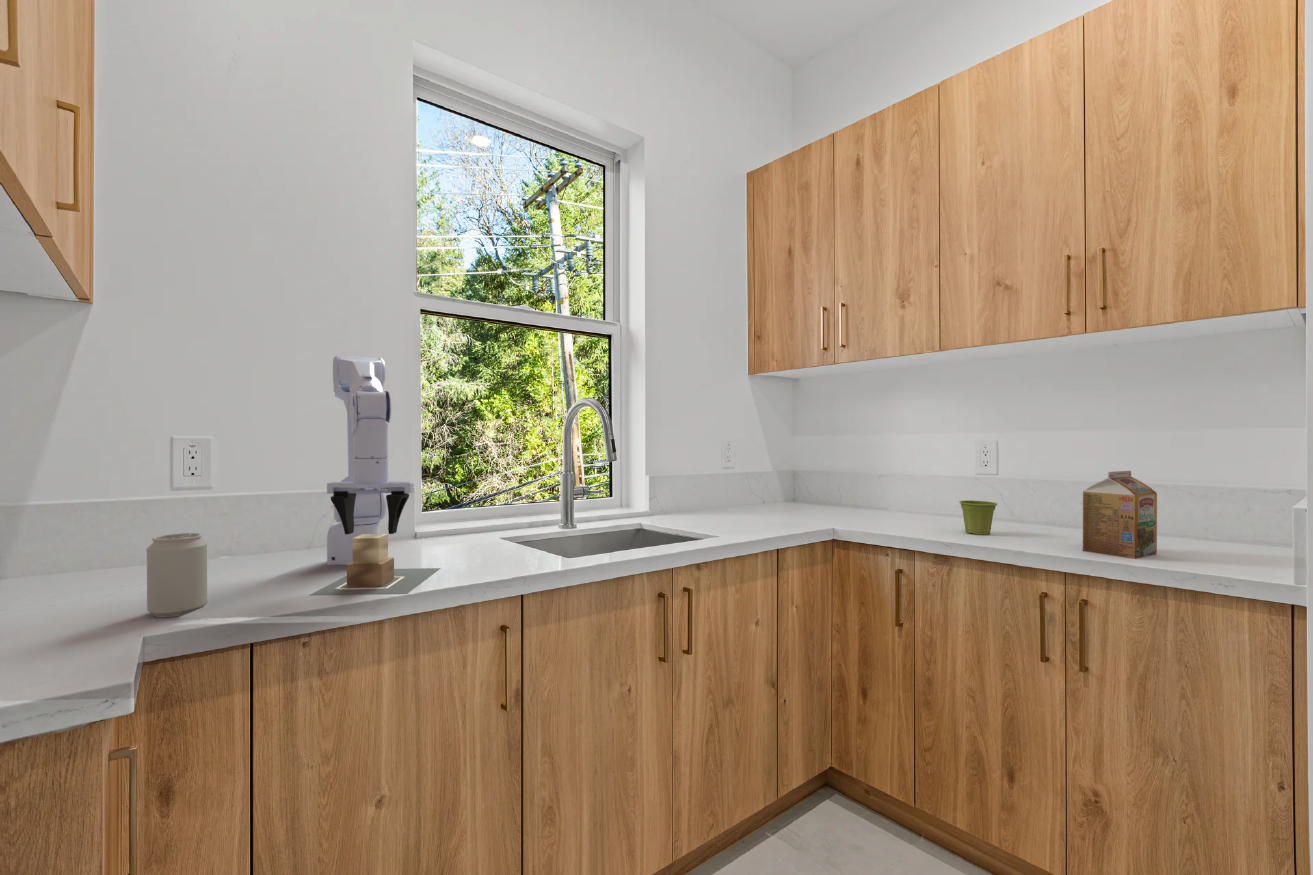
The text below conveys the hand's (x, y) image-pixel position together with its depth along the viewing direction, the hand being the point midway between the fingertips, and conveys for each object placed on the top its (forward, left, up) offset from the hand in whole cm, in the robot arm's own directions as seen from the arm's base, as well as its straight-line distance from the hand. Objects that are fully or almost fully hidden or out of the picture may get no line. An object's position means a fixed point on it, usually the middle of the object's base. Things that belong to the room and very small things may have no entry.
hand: (370, 533), depth 113 cm
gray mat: (+1, +2, -10) cm, 10 cm away
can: (-24, -14, -10) cm, 30 cm away
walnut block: (0, 0, -9) cm, 9 cm away
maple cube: (0, 0, -5) cm, 5 cm away
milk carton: (+161, +24, -10) cm, 163 cm away
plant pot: (+144, +53, -10) cm, 154 cm away
